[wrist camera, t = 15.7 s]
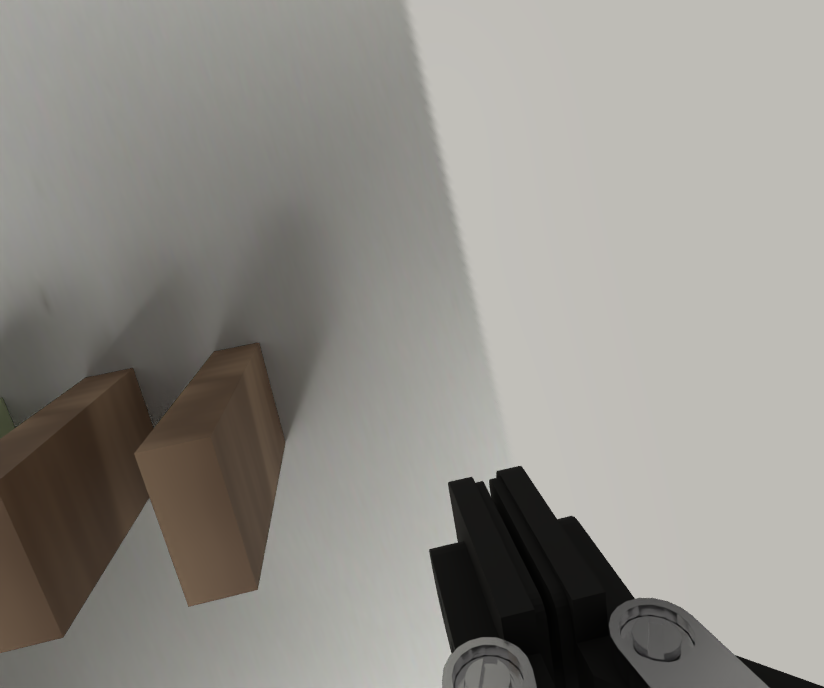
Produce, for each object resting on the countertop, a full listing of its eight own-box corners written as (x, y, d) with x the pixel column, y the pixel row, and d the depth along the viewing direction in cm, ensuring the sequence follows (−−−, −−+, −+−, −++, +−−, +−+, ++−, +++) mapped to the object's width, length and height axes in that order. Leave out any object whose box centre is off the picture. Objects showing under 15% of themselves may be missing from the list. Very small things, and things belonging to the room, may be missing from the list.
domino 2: (242, 451, 25) (188, 606, 15) (213, 351, 24) (133, 453, 14) (285, 442, 25) (257, 589, 16) (258, 342, 24) (210, 436, 14)
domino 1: (122, 478, 24) (-11, 655, 15) (86, 377, 23) (-88, 501, 14) (167, 468, 25) (63, 637, 15) (132, 368, 23) (-6, 483, 14)
